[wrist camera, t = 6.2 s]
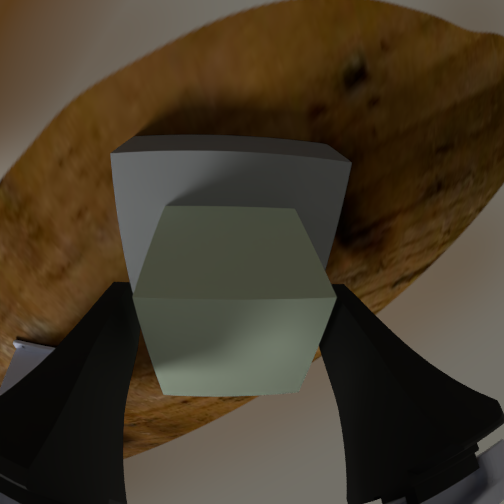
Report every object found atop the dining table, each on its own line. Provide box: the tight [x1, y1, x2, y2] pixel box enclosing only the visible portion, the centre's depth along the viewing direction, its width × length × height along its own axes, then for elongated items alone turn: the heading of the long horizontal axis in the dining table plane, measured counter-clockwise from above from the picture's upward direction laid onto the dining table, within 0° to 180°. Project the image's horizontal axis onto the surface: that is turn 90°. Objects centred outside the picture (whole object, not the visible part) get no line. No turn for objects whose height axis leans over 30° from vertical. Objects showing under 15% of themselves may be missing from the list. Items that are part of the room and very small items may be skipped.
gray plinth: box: [111, 135, 352, 294], centre depth 13 cm, size 9×9×3 cm
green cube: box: [132, 206, 337, 396], centre depth 10 cm, size 5×5×5 cm
